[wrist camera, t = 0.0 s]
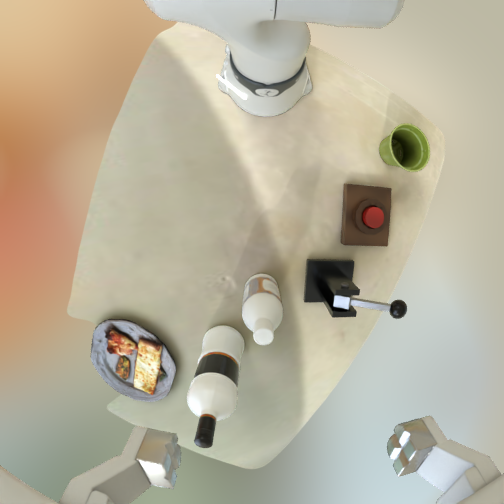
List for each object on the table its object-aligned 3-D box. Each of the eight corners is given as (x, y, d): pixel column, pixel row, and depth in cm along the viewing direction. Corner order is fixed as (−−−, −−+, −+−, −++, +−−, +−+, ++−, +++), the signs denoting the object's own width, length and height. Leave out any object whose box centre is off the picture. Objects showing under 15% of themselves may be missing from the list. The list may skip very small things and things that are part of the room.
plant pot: (409, 175, 51) (430, 174, 43) (372, 171, 51) (390, 168, 43) (407, 134, 49) (428, 128, 41) (371, 128, 49) (388, 119, 41)
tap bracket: (352, 259, 56) (376, 278, 43) (347, 299, 57) (368, 326, 45) (306, 259, 56) (320, 278, 43) (303, 300, 58) (315, 328, 45)
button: (363, 205, 49) (366, 206, 48) (381, 207, 49) (384, 207, 48) (361, 226, 50) (365, 227, 49) (379, 227, 50) (383, 228, 49)
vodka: (232, 317, 59) (214, 418, 29) (251, 349, 60) (247, 455, 31) (196, 332, 60) (157, 430, 30) (216, 362, 61) (194, 464, 32)
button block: (343, 184, 52) (350, 183, 48) (386, 188, 52) (395, 188, 48) (340, 242, 55) (346, 246, 51) (383, 244, 55) (391, 248, 51)
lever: (408, 298, 41) (408, 305, 38) (405, 315, 42) (404, 323, 39) (338, 287, 47) (334, 292, 45) (336, 303, 48) (332, 310, 46)
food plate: (101, 300, 59) (94, 306, 55) (187, 341, 60) (184, 349, 57) (92, 371, 64) (86, 377, 60) (164, 406, 65) (161, 414, 62)
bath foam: (285, 285, 57) (298, 331, 37) (265, 310, 58) (268, 364, 39) (257, 266, 56) (258, 305, 37) (238, 292, 57) (229, 341, 38)
